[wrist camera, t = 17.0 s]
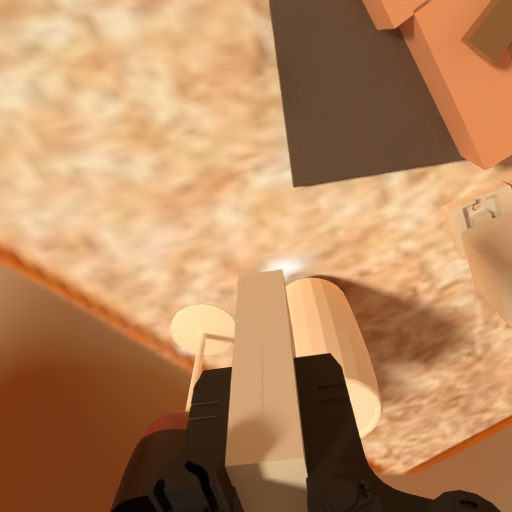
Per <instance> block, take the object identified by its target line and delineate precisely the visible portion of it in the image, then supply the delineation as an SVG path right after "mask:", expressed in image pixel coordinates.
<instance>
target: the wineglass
mask: <svg viewBox="0 0 512 512" xmlns="http://www.w3.org/2000/svg"><path fill="white" fill-rule="evenodd" d="M171 333H172V337H173V338H174V340H175V341H176V343H177V344H178V345H179V346H180V347H182V348H183V349H184V350H186V351H189V352H191V353H193V354H196V359H195V364H194V369H193V374H192V380H191V385H190V391H189V396H188V401H187V406H186V411H174V412H170V413H168V414H165V415H163V416H161V417H159V418H158V419H156V420H155V421H154V422H153V423H152V424H151V425H150V426H149V427H148V428H147V430H146V431H145V432H144V434H143V435H142V437H141V439H140V440H139V442H138V444H137V446H136V448H135V449H134V451H133V453H132V455H131V457H130V460H129V462H128V464H127V467H126V469H125V472H124V474H123V477H122V479H121V482H120V485H119V487H118V490H117V493H116V495H115V498H114V501H113V504H112V507H111V510H110V512H156V511H157V510H156V509H155V507H154V505H153V504H152V502H151V500H150V499H149V497H148V495H147V493H146V492H147V490H148V488H149V485H150V483H151V480H152V478H153V477H154V476H155V475H156V473H157V472H158V471H159V470H160V468H161V467H162V466H164V465H165V464H167V463H168V462H170V461H171V460H172V459H174V458H177V457H180V456H182V451H183V446H184V440H185V434H186V429H187V423H188V422H189V419H188V417H189V412H190V407H191V400H192V395H193V389H194V385H195V384H196V382H197V381H198V379H199V377H200V373H201V367H202V361H203V355H215V354H219V353H222V352H224V351H225V350H227V349H229V348H230V347H231V346H232V344H233V343H234V333H235V321H234V319H233V318H232V317H231V316H230V315H229V314H228V313H227V312H226V311H224V310H222V309H220V308H218V307H216V306H212V305H207V304H195V305H192V306H189V307H185V308H184V309H182V310H181V311H179V312H178V313H177V314H176V315H175V317H174V318H173V319H172V323H171Z"/></svg>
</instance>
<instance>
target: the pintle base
mask: <svg viewBox="0 0 512 512" xmlns="http://www.w3.org/2000/svg"><path fill="white" fill-rule="evenodd" d="M269 7H270V14H271V22H272V29H273V37H274V45H275V52H276V60H277V67H278V75H279V83H280V90H281V98H282V105H283V113H284V121H285V128H286V136H287V143H288V151H289V159H290V166H291V174H292V181H293V186H294V187H299V186H305V185H311V184H317V183H323V182H329V181H335V180H342V179H348V178H354V177H360V176H366V175H372V174H378V173H384V172H390V171H396V170H402V169H408V168H414V167H420V166H426V165H432V164H438V163H444V162H450V161H456V160H462V159H465V158H463V157H462V156H461V155H460V153H459V151H458V149H457V147H456V145H455V143H454V141H453V139H452V137H451V135H450V133H449V131H448V128H447V126H446V124H445V122H444V120H443V118H442V116H441V114H440V112H439V110H438V108H437V106H436V104H435V102H434V99H433V97H432V95H431V93H430V91H429V89H428V87H427V85H426V83H425V81H424V79H423V77H422V75H421V73H420V70H419V68H418V66H417V64H416V62H415V60H414V58H413V56H412V54H411V52H410V50H409V48H408V46H407V44H406V42H405V39H404V37H403V35H402V33H401V31H400V29H399V27H396V28H395V29H383V30H377V28H376V27H375V25H374V23H373V21H372V19H371V17H370V15H369V13H368V11H367V9H366V7H365V5H364V3H363V1H362V0H269ZM461 41H462V42H463V43H464V44H466V45H467V46H468V47H469V48H470V49H471V50H472V51H474V52H475V53H476V54H477V55H478V56H479V57H481V58H482V59H483V60H484V61H485V62H493V63H494V62H495V61H496V60H497V59H498V58H499V56H500V55H501V54H502V53H503V52H504V50H505V49H506V48H507V47H508V46H509V44H510V43H511V42H512V0H490V3H489V4H488V5H487V6H486V8H485V9H484V10H483V12H482V13H481V14H480V15H479V17H478V18H477V19H476V21H475V22H474V23H473V24H472V26H471V27H470V28H469V30H468V31H467V32H466V33H465V35H464V36H463V37H462V39H461Z"/></svg>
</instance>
